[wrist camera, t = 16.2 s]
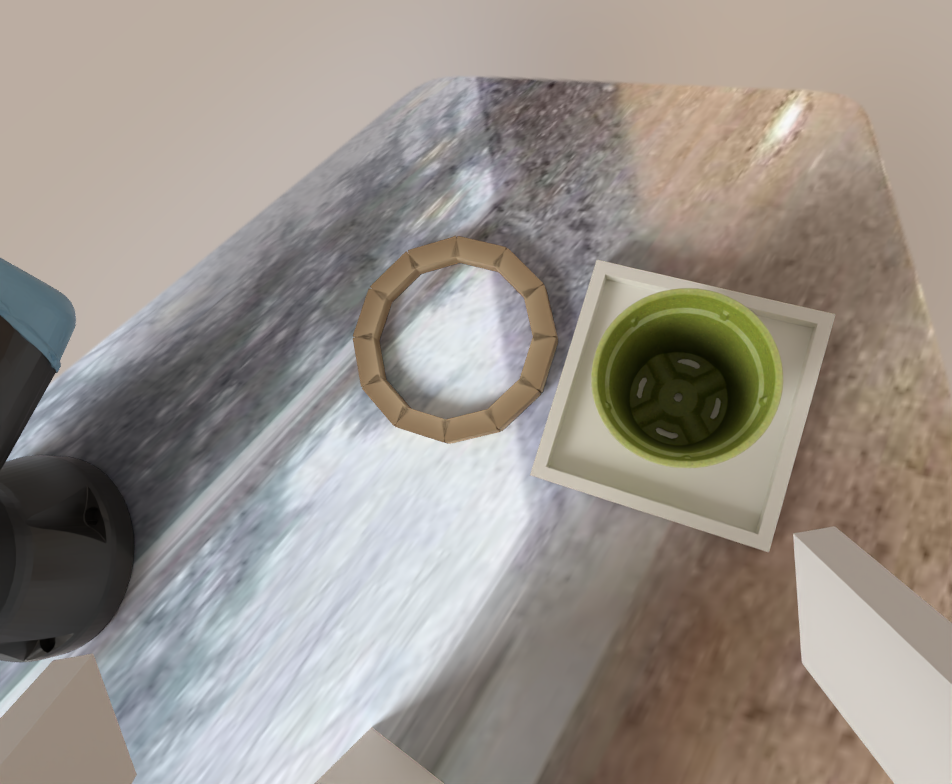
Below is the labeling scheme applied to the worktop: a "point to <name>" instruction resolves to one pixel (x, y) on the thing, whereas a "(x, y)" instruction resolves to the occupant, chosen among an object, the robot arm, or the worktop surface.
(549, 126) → the worktop surface
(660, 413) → the plant pot
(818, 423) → the worktop surface
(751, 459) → the grey tray
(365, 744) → the milk
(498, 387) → the worktop surface
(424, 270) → the oak ring
